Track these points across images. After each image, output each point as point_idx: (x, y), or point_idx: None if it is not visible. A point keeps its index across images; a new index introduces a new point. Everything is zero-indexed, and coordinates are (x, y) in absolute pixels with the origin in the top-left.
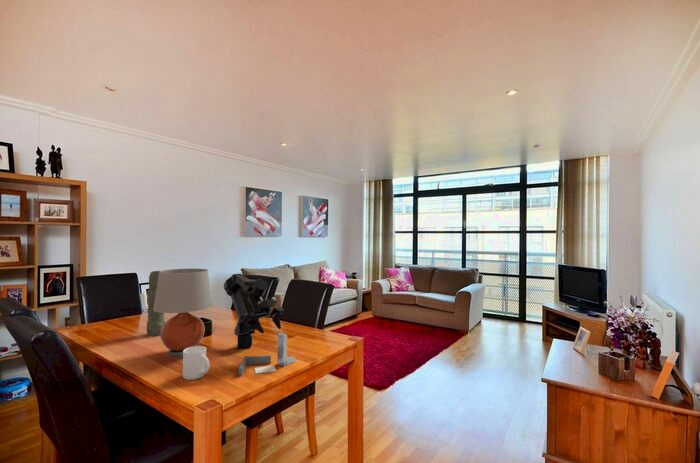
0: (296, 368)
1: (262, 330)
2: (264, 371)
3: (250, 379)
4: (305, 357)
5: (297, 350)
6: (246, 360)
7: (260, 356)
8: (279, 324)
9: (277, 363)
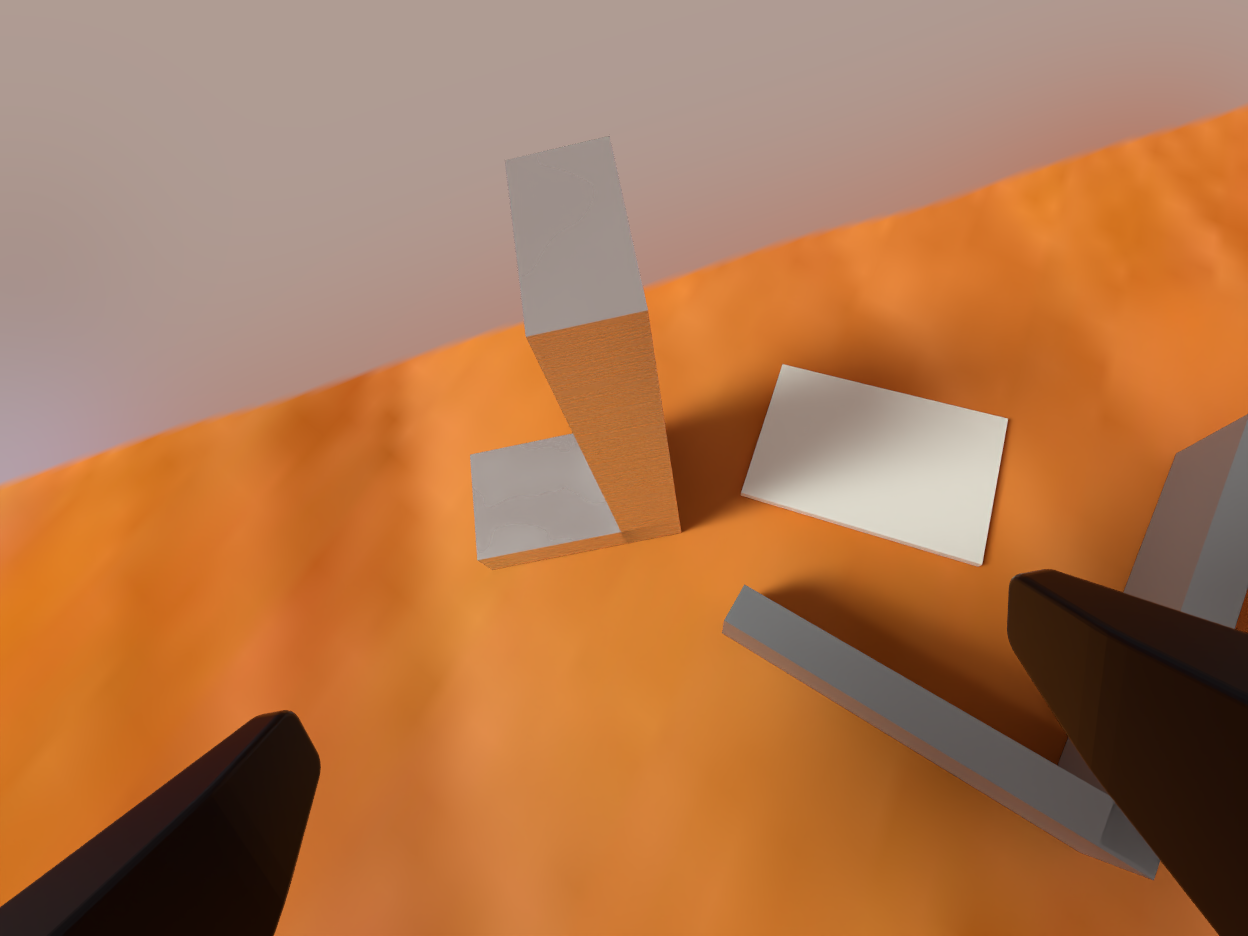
0: None
1: (1112, 600)
2: (901, 404)
3: (1088, 331)
4: (329, 515)
5: None
6: None
7: (883, 680)
8: (167, 815)
9: (679, 527)
